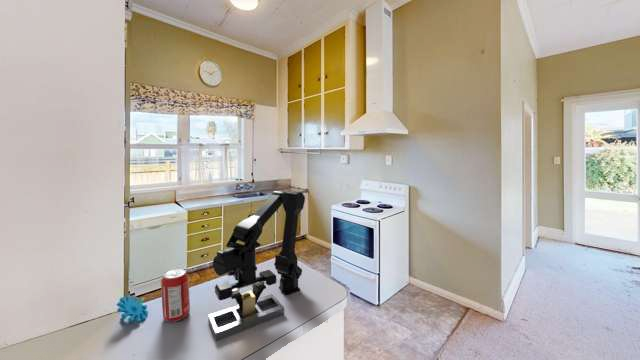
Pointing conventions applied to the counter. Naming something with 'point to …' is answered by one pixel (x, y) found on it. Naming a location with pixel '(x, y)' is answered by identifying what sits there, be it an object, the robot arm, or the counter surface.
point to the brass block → (248, 304)
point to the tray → (246, 322)
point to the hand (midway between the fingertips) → (247, 308)
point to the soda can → (175, 295)
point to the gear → (132, 308)
